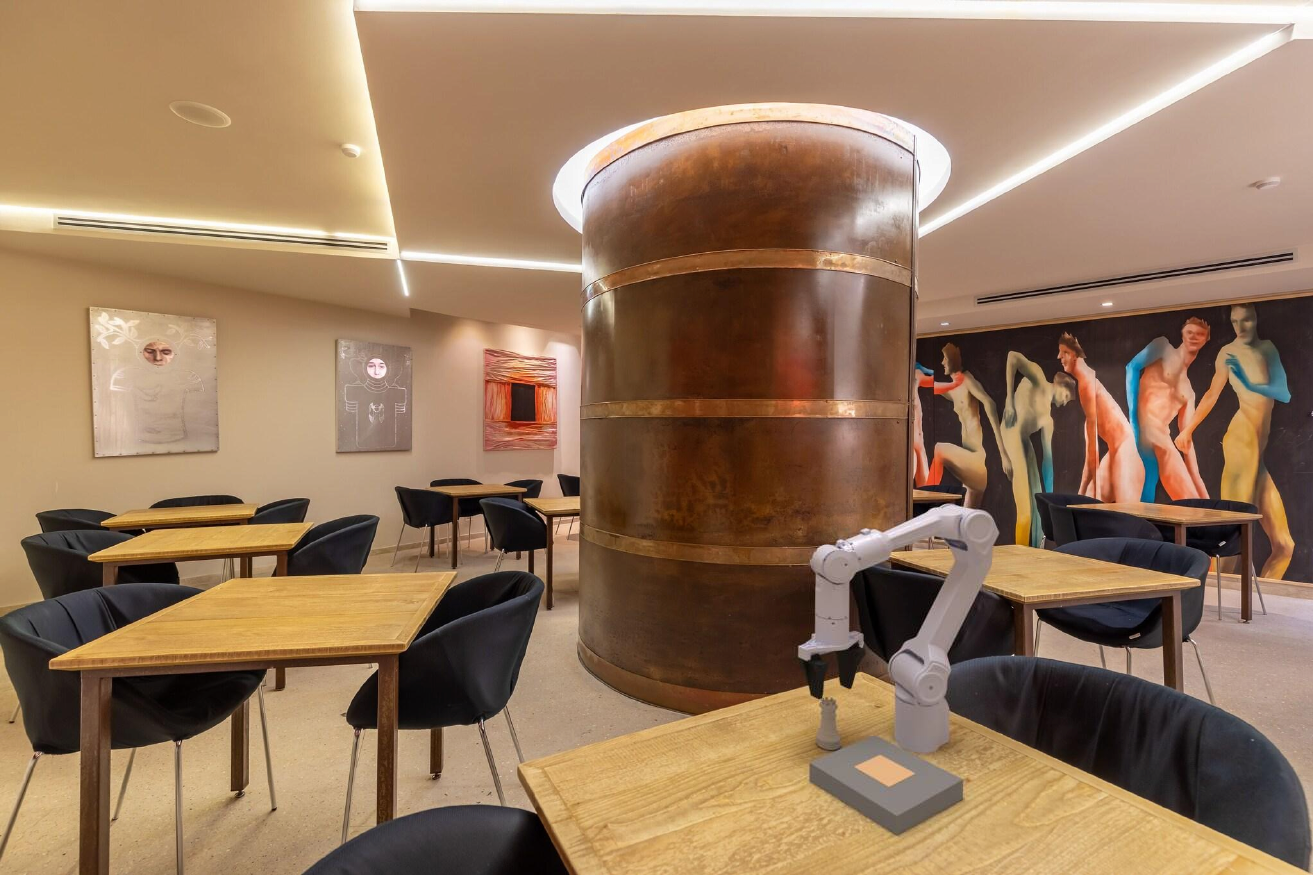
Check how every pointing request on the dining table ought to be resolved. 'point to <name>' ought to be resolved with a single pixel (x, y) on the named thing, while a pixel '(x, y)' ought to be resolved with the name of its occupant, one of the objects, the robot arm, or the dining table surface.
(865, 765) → the grey flat square slab
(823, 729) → the rook chess piece
